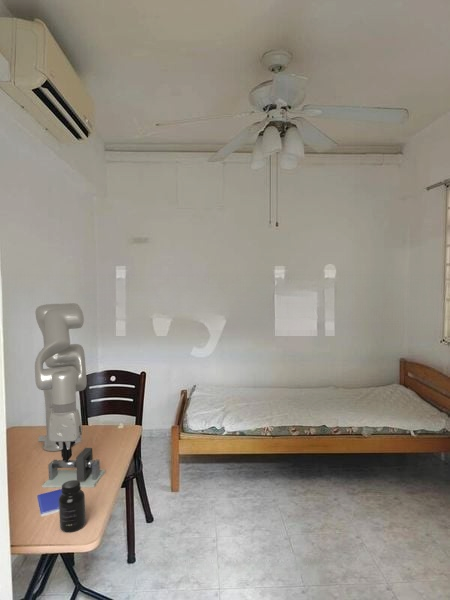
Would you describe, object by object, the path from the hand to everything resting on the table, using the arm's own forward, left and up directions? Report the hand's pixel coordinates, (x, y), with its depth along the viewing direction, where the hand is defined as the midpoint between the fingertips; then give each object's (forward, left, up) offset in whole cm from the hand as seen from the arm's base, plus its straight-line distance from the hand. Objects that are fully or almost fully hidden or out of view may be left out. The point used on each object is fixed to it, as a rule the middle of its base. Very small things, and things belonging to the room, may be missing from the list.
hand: (66, 459), depth 141 cm
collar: (+6, 0, -6) cm, 8 cm away
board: (+3, 0, -7) cm, 8 cm away
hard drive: (+2, -15, -8) cm, 17 cm away
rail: (+3, 0, -7) cm, 8 cm away
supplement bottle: (+14, -27, -7) cm, 31 cm away
